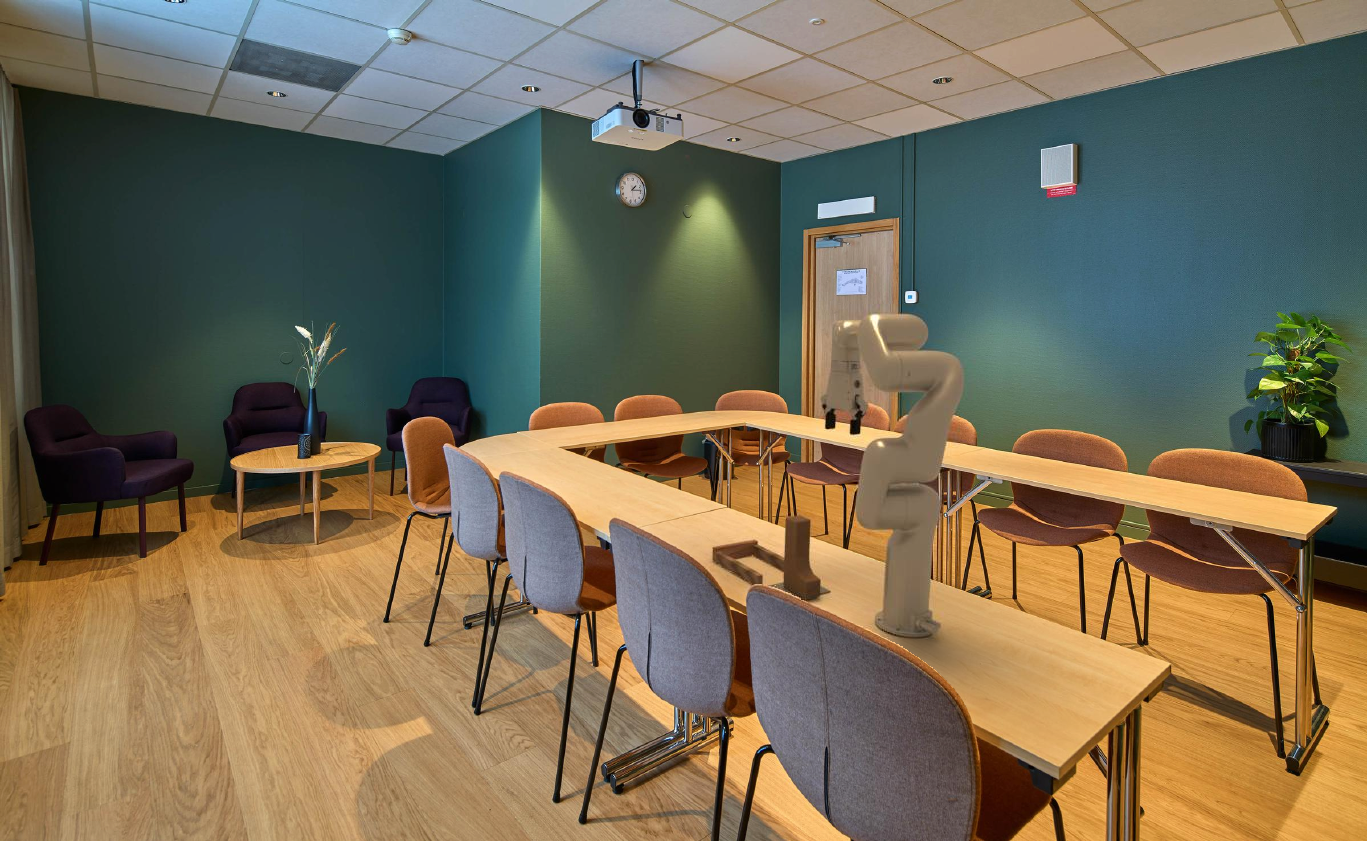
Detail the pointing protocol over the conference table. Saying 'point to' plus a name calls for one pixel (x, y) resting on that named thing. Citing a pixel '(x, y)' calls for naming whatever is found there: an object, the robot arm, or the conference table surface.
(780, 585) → the mat
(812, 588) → the wooden block
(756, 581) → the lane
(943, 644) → the conference table surface
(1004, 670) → the conference table surface
